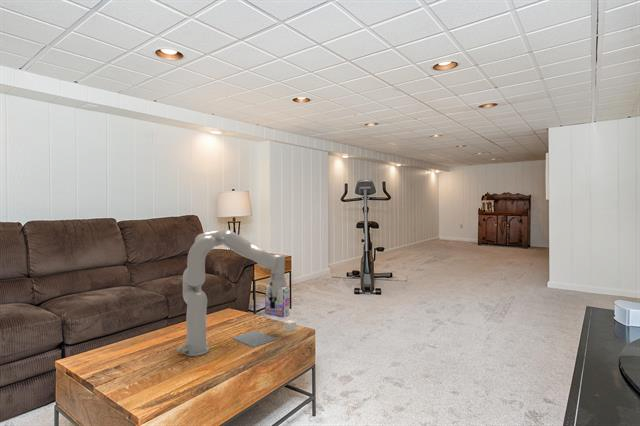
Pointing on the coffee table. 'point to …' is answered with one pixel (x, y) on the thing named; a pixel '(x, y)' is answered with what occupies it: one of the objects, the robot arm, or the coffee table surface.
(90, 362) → the coffee table surface
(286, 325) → the cream block
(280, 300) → the candy box
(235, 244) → the robot arm
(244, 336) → the grey mat
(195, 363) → the coffee table surface
